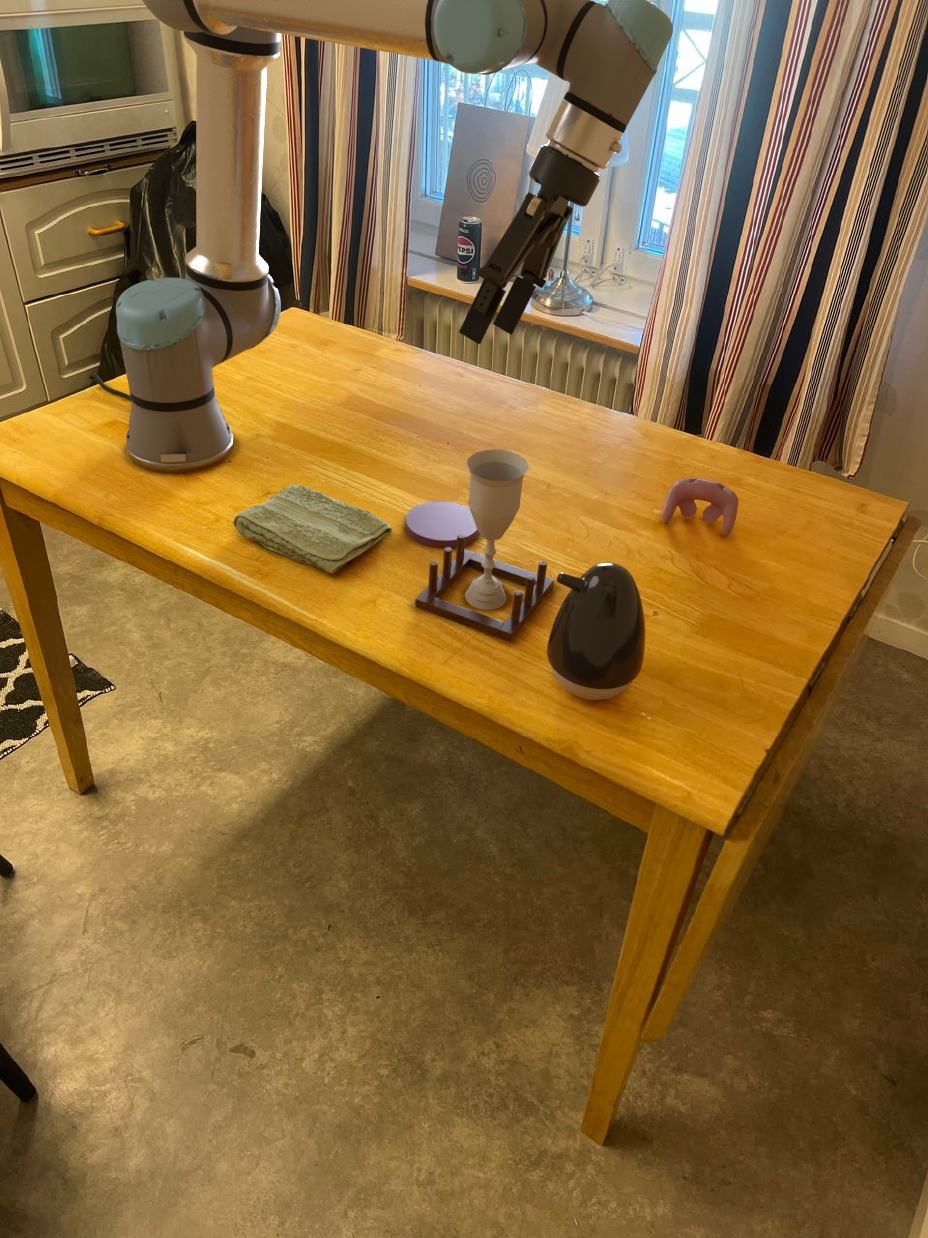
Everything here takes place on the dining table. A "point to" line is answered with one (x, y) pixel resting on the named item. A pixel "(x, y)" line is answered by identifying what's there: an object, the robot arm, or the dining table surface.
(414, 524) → the lid
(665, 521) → the video game controller
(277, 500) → the washcloth
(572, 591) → the pump dispenser
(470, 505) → the chalice
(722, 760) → the dining table surface
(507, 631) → the drying rack
